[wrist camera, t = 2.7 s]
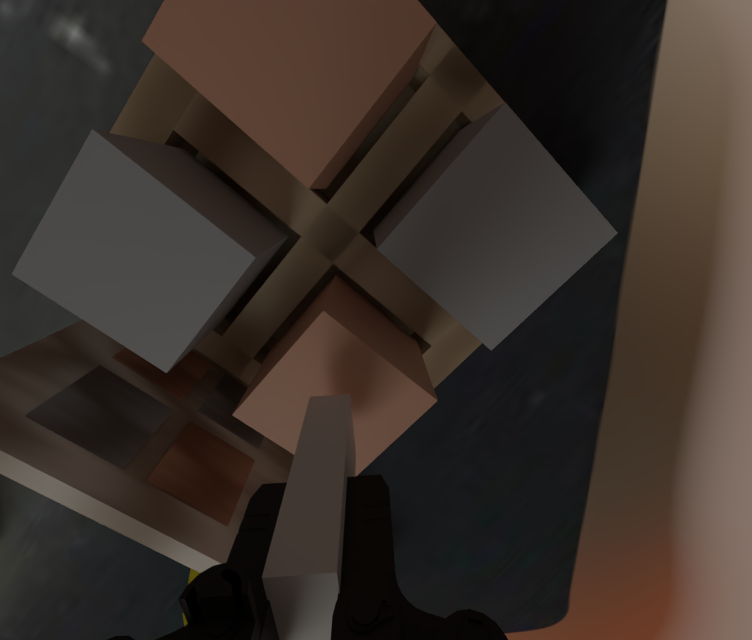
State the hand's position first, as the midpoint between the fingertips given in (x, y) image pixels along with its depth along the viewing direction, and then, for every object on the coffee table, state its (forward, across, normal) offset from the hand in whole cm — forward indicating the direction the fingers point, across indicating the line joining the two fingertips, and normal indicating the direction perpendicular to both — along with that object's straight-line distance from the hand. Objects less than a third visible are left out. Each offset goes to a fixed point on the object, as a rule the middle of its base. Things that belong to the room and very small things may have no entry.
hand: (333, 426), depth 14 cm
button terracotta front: (+7, 0, +13) cm, 15 cm away
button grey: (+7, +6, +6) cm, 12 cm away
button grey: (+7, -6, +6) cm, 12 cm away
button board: (+11, -1, +5) cm, 12 cm away
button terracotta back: (+7, 0, 0) cm, 7 cm away
